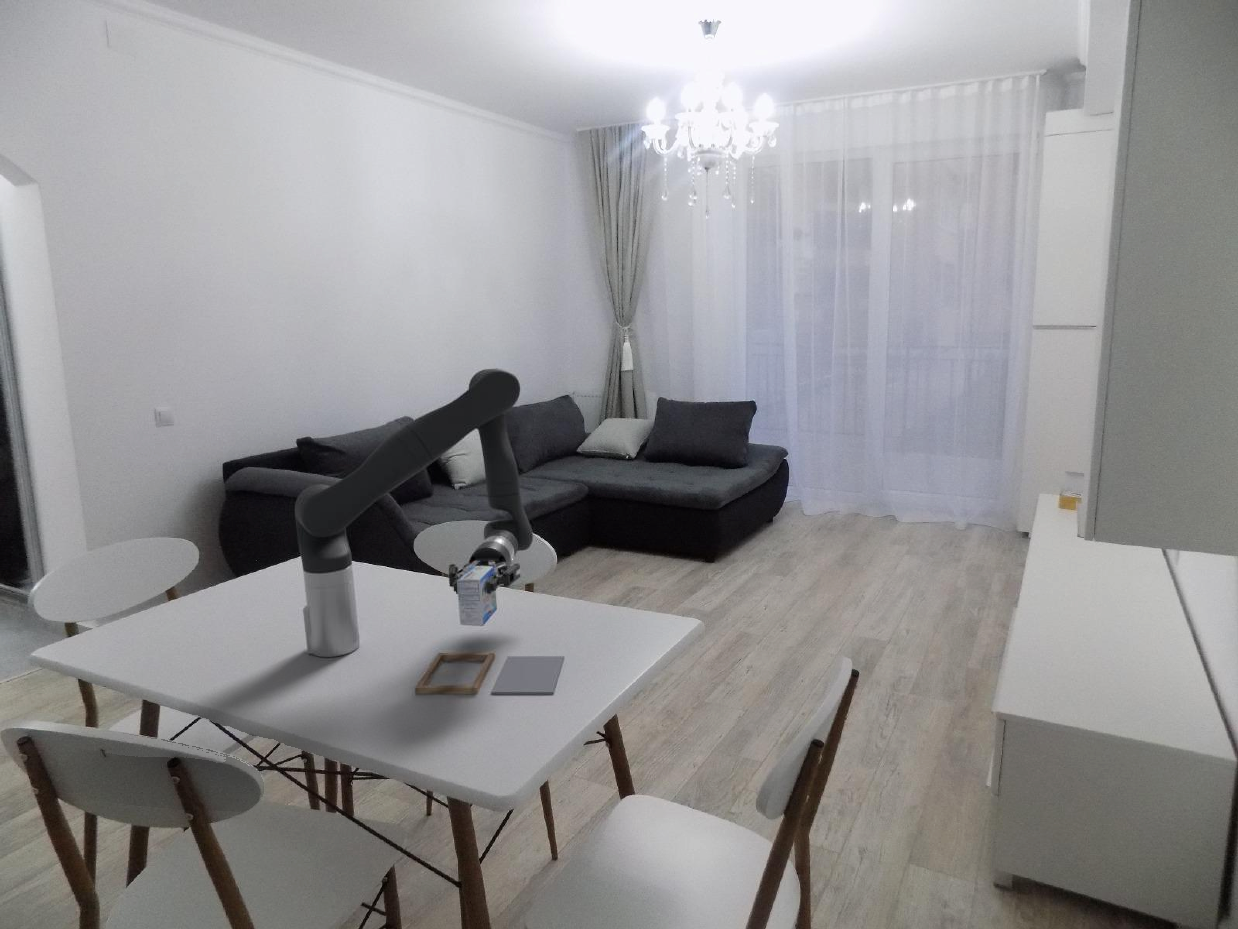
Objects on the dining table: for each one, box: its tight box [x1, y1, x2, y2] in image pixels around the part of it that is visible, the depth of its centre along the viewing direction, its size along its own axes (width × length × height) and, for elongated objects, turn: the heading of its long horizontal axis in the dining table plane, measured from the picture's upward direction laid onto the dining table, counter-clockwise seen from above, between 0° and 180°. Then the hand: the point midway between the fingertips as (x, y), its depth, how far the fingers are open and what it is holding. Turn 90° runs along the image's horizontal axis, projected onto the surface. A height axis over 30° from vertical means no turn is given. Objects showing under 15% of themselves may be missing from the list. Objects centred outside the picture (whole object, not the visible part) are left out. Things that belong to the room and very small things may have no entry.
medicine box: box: [457, 566, 498, 627], centre depth 150 cm, size 8×4×9 cm, turn 170°
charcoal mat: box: [490, 655, 565, 695], centre depth 152 cm, size 11×15×1 cm
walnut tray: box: [414, 652, 496, 695], centre depth 152 cm, size 11×15×1 cm
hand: (473, 588), depth 147 cm, fingers closed on medicine box, 5 cm apart
